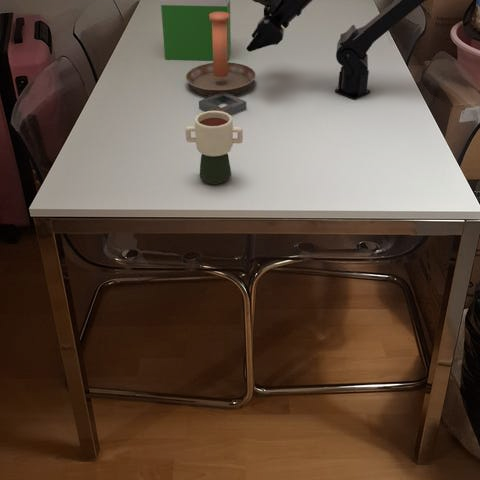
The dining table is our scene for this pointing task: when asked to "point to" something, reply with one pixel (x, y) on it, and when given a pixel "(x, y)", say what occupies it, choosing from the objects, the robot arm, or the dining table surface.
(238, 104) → the collar
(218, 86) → the plant saucer
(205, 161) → the cream and green cup
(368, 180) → the dining table surface
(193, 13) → the hardback book
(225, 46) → the stop pin
